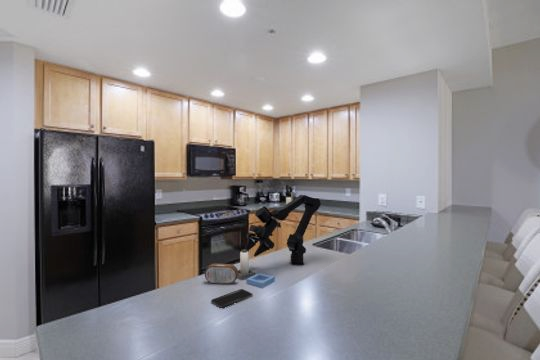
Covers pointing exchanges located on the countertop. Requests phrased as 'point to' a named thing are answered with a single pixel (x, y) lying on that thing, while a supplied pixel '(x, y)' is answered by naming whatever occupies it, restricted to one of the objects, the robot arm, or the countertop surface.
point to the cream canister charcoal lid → (244, 262)
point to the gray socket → (246, 275)
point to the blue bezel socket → (261, 284)
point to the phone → (231, 298)
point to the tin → (221, 273)
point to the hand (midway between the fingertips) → (249, 254)
